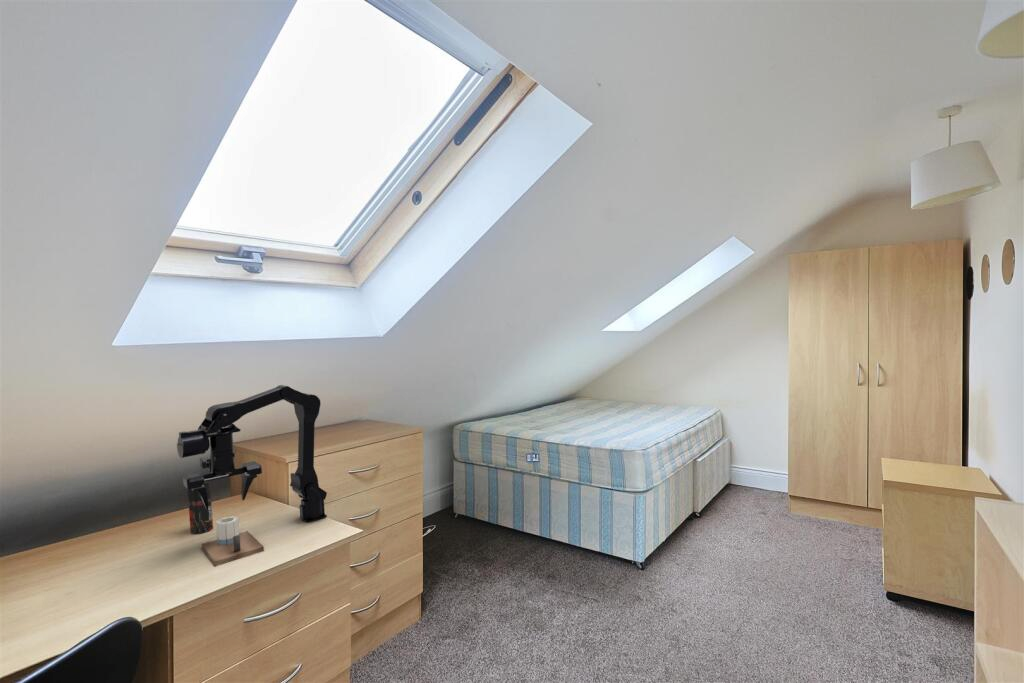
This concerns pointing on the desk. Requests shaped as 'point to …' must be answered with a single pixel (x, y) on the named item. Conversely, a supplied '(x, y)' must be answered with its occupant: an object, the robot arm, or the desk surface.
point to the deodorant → (200, 511)
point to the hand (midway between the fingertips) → (225, 504)
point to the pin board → (232, 548)
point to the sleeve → (227, 530)
